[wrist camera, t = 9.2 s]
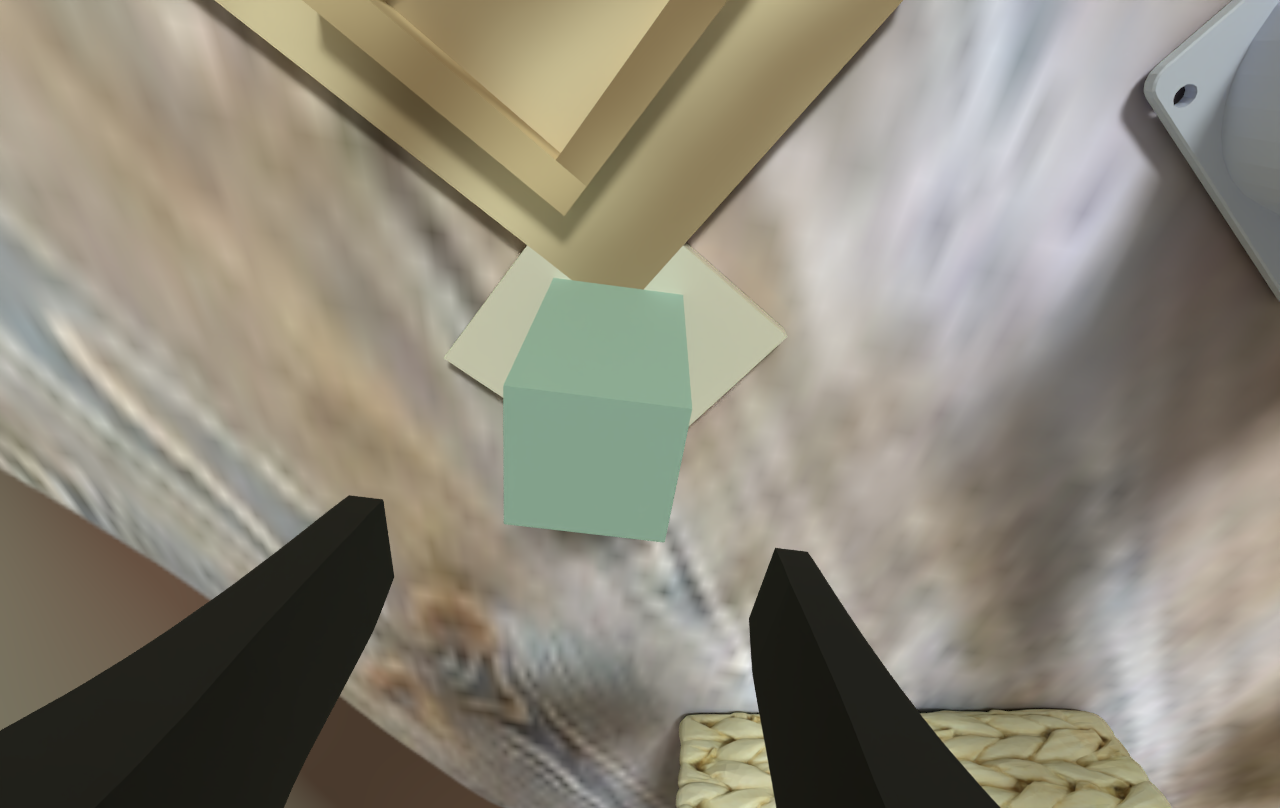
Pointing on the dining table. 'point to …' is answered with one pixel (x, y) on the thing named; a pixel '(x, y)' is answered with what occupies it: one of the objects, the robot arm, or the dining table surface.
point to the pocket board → (578, 103)
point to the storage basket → (982, 741)
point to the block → (597, 412)
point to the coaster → (714, 308)
